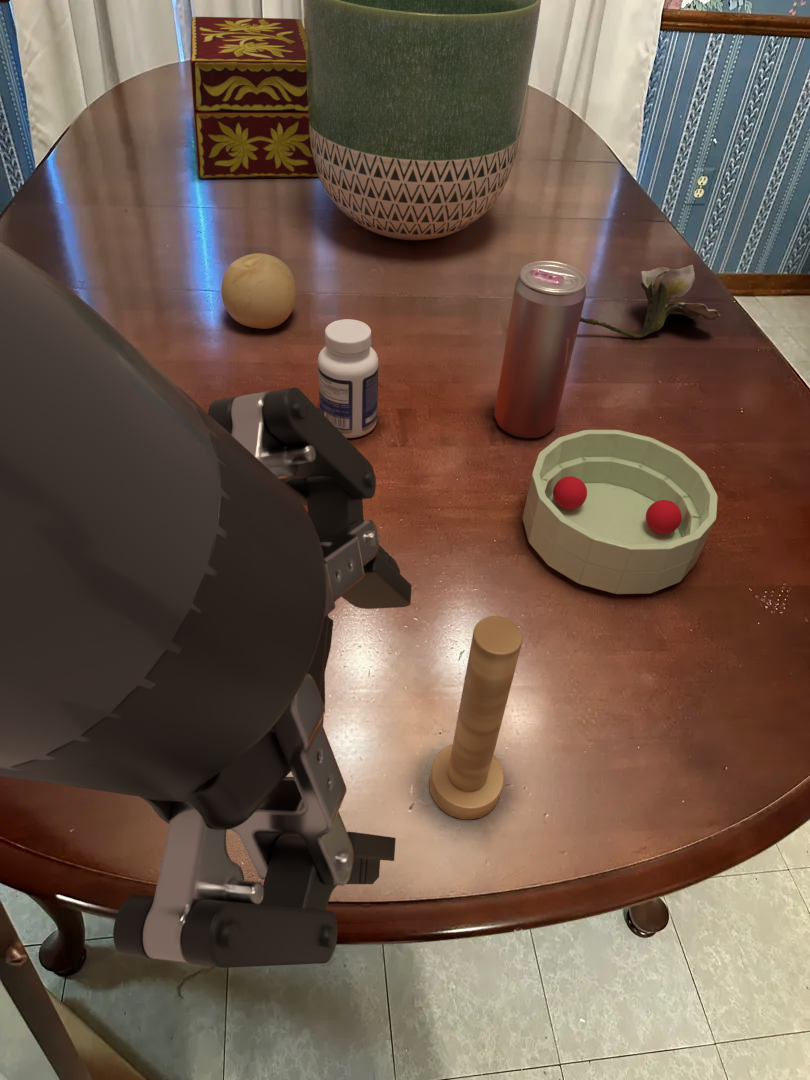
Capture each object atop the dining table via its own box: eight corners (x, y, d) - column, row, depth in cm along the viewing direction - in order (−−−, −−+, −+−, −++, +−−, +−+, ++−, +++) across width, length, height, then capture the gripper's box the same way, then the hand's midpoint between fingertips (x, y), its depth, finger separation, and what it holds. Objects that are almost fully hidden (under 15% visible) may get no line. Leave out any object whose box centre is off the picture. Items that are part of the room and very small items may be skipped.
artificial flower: (504, 327, 91) (522, 236, 86) (681, 346, 95) (707, 260, 91) (526, 348, 83) (546, 250, 79) (717, 367, 88) (747, 275, 83)
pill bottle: (365, 401, 77) (367, 310, 70) (385, 433, 73) (389, 340, 67) (312, 411, 75) (308, 319, 68) (330, 444, 72) (328, 351, 65)
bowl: (723, 533, 66) (747, 483, 62) (642, 629, 58) (663, 579, 54) (580, 458, 72) (593, 409, 69) (488, 536, 64) (498, 485, 61)
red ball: (589, 505, 67) (596, 480, 65) (571, 521, 65) (578, 496, 63) (561, 490, 68) (568, 465, 66) (543, 505, 67) (549, 480, 65)
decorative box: (326, 178, 117) (324, 64, 107) (198, 179, 114) (183, 62, 103) (308, 117, 136) (305, 16, 126) (198, 117, 133) (185, 13, 123)
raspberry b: (681, 529, 65) (692, 504, 63) (666, 546, 64) (676, 521, 62) (651, 513, 67) (660, 488, 65) (635, 529, 65) (644, 504, 63)
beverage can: (506, 398, 79) (531, 253, 68) (562, 415, 77) (597, 270, 66) (484, 429, 75) (507, 281, 64) (543, 448, 73) (576, 299, 63)
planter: (314, 184, 115) (308, -42, 96) (494, 191, 117) (523, -30, 98) (305, 267, 96) (295, 6, 77) (519, 274, 98) (561, 21, 79)
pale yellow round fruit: (304, 334, 84) (265, 284, 78) (242, 351, 88) (200, 304, 81) (313, 280, 88) (276, 228, 82) (253, 298, 91) (213, 249, 85)
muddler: (514, 783, 49) (561, 632, 38) (471, 834, 46) (509, 688, 36) (458, 741, 51) (488, 586, 40) (414, 788, 48) (434, 635, 38)
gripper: (111, 1068, 9) (477, 957, 23) (265, 173, 15) (487, 518, 29) (-289, 993, 12) (256, 933, 26) (-33, 255, 17) (304, 535, 31)
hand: (378, 715), depth 27 cm, fingers open, 8 cm apart
